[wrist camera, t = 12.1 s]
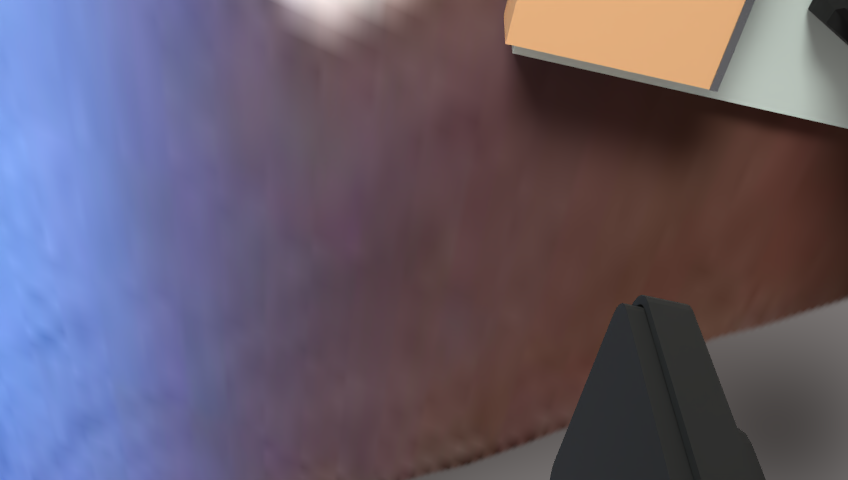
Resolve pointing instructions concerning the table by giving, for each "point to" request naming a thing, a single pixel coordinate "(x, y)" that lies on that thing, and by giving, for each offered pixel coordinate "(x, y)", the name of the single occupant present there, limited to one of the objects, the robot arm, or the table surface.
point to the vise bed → (768, 65)
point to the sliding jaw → (635, 34)
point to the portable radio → (832, 15)
